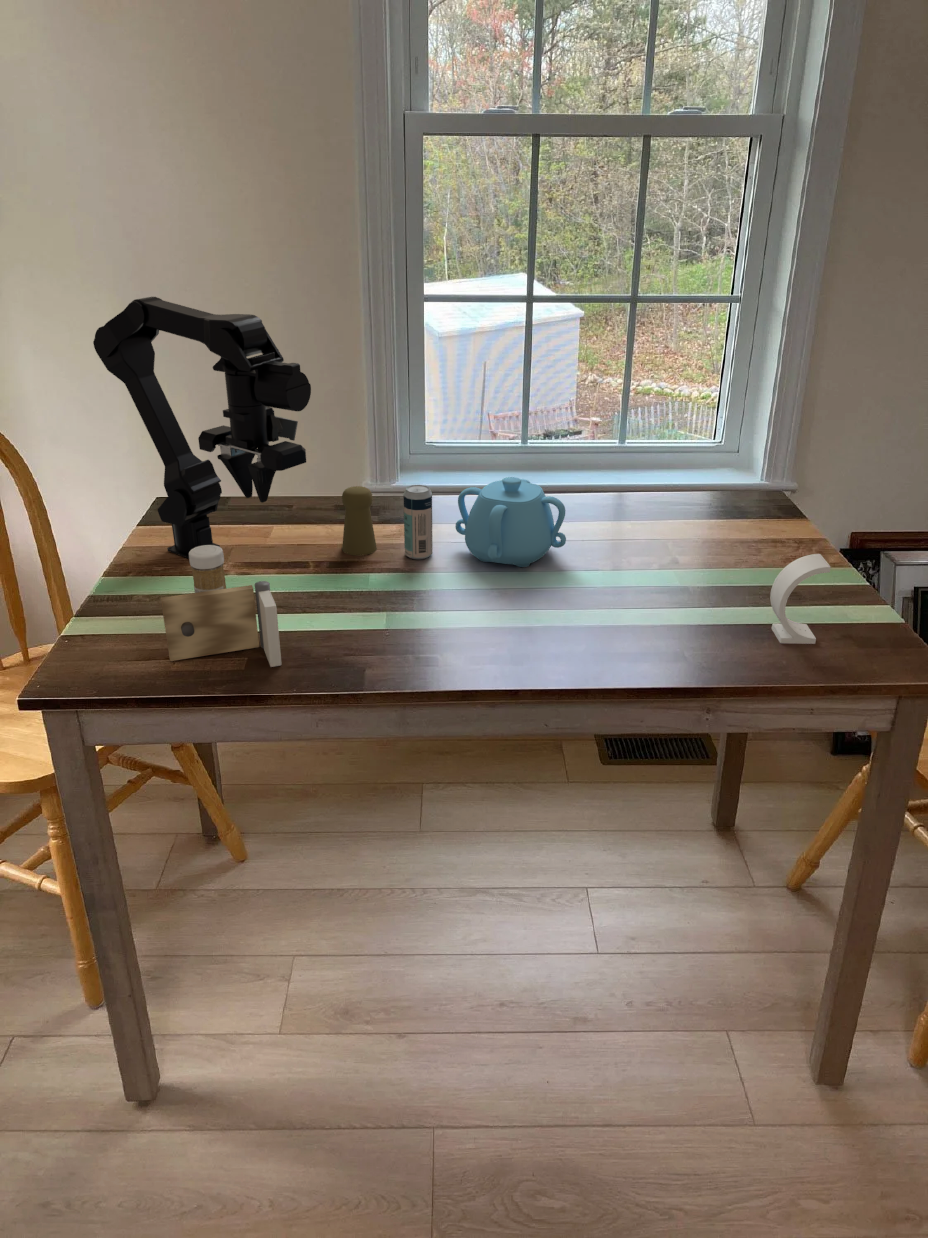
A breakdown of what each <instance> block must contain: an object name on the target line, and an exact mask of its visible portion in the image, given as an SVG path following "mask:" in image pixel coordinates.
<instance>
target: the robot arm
mask: <svg viewBox="0 0 928 1238" xmlns="http://www.w3.org/2000/svg"><path fill="white" fill-rule="evenodd" d="M160 331H161V332H165V333H168V334H172V335H176V336H179V337H182V338H184V339H190V340H192V341H197V342H200V343H202V344H203V345H204V346H206V347H207V348H206V349H208V350H209V351H210V352H211V353H213V354H214V355H216V356H218V357H220V358H219V360H218V361H217V362H216V363H215V364H214V365H213V366H212V369H213V371H214V372H222V373H224V379H225V389H226V397H227V407H228V408H226V409H223V410H222V415H223V417H224V418H227V419H229V426H227V425H221V426H220V425H219V426H217V427H212V428H209V429H206V430H202V431H201V432H200V435H199V436H198V438H197V439H198V447H199V450H201V451H204V452H208V453H212V452H214V451H215V450H216V448H217V445H218V447H219V448H220V454H218V455H216V457H217V459H218V460H220V461H221V462H222V464H223V465H224V467H225V468H226V469H227V471H228V472H229V473H230V475H231V477H232V479H234V481H235V482H236V484H237V486H238V487H239V489H240V490H241V492H242V493H243V496H244V497H245V498H246V499H249V498H252V497H253V491H254V490H253V488H254V489H255V493H256V494H257V498H258V500H259V502H260V503H267V501H268V498H269V494H270V490H271V487H272V484H273V482H274V481H273V480H274V477H275V474H276V472H279V471H280V472H281V471H285V470H288V469H290V468H291V469H292V468H294V467H296V466H300V465H303V464H306V463H307V452H306V451H307V450H306V448H305V447H303V445H301V444H298V443H295V442H291V441H295V438H296V433H297V429H298V424H299V423H298V422H299V421H298V420H294V419H291V418H290V419H289V418H286V417H282V416H277V415H275V410H274V409H279V410H285V411H291V412H302V411H303V410H305V409H306V407H307V406H308V404H309V402H310V400H311V393H312V386H311V383H310V381H309V379H308V377H307V375H306V373H304V372H302V371H301V365H300V363H298V362H289V363H288V362H284V361H285V360H284V357H283V355H282V353H281V352H280V350H279V349H278V347H277V346H276V344H275V342H274V341H273V339H272V338H271V336H270V334H269V333H268V331H267V329H266V327H265V325H264V323H263V320H262V319H261V318H260V317H259V316H257V315H254V314H251V313H250V314H246V313H245V314H244V313H232V314H231V313H229V314H228V313H227V314H214V313H211V312H207V311H204V310H200V309H195V308H192V307H188V306H186V305H181V304H178V303H175V302H170V301H168V300H167V301H166V300H163V299H162V298H161V297H158V296H148V297H142V298H137V299H133V300H132V301H131V302H129V303H128V305H127V306H126V307H125V308H124V309H123V310H122V311H121V312H119V313H118V314H117V315H115V316H114V317H113V318H111V319H110V320H108V321H107V322H106V323H105V324H104V325H102V326H100V327H98V328H97V329H96V332H95V333H94V339H93V342H92V343H93V348H94V351H95V352H96V354H97V356H98V358H99V359H100V361H101V362H102V364H103V365H104V367H105V369H106V370H107V371H108V372H109V373H111V374H112V375H113V376H114V377H116V378H117V379H118V380H119V381H120V382H122V383H123V384H124V386H125V387H126V389H127V391H128V394H129V396H130V397H131V399H132V401H133V403H134V406H135V407H136V410H137V411H138V414H139V416H140V418H141V420H142V423H143V424H144V426H145V428H146V431H147V432H148V434H149V436H150V438H151V440H152V443H153V444H154V446H155V449H156V451H157V452H158V455H159V457H160V460H161V461H162V463H163V465H164V473H163V474H164V475H163V477H164V478H163V486H164V490H165V493H166V495H167V497H166V498H165V499H164V500H163V502H162V503H161V505H159V507H158V508H157V513H158V516H159V517H160V520H161V522H162V523H166V524H169V525H170V524H171V530H172V536H173V543H174V545H171V546H169V547H167V552H170V553H172V554H175V555H177V556H180V557H183V558H186V559H187V560H188V559H189V552H190V550H192V549H193V548H195V547H198V546H203V545H215V546H219V547H220V548H221V546H220V544H217V543H215V542H213V533H212V527H211V524H210V516H208V515H210V514H211V513H215V512H217V511H218V505H219V502H220V499H221V495H222V494H223V493H222V492H223V491H222V486H221V484H220V483H221V482H222V479H220V478H219V476H218V475H217V473H216V471H215V468H214V465H213V462H212V461H211V460H210V459H205V460H201V459H200V458H199V457H198V456H196V455H195V454H194V453H193V451H192V449H191V447H190V445H189V443H188V441H187V439H186V436H185V434H184V432H183V430H182V428H181V426H180V423H179V421H178V420H177V417H176V416H175V413H174V412H173V410H172V407H171V404H170V403H169V401H168V399H167V397H166V394H165V393H164V390H163V388H162V386H161V384H160V382H159V380H158V378H157V376H156V374H155V360H156V353H155V349H154V345H153V344H152V342H153V341H154V340H155V339H156V338H157V336H158V335H159V334H160ZM251 356H252V357H251ZM279 438H285V439H289V440H290V441H287V440H284V441H281V442H278V443H275V442H277V441H279V440H280V439H279ZM271 442H272V443H273V442H274V443H275V444H270V443H271ZM256 455H257V458H256V461H255V462H253V460H254V458H255V456H256ZM253 486H254V487H253Z"/></svg>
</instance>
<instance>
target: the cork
mask: <svg viewBox="0 0 928 1238" xmlns="http://www.w3.org/2000/svg"><path fill="white" fill-rule="evenodd" d="M341 501H342V504H343V506H344V507H345V511H344V513H345V514H344V521H343V522H344V526H343V536H342V547H341V550H342V552H343V553H344V554H346V555H350V556H367V555H370V554H373V553H375V552H376V551H377V550H378V548H377V543H376V542H377V541H376V537H375V536H376V535H375V531H374V526H373V519H372V513H371V506H372V505H373V493H372V491H371V490H370V489H369V488H367V487H366V486H360V485H359V486H358V485H356V486H354V485H353V486H351V487H347V488H346V489H344V490H343V492H342V494H341Z"/></svg>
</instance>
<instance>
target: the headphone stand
mask: <svg viewBox="0 0 928 1238" xmlns="http://www.w3.org/2000/svg"><path fill="white" fill-rule="evenodd" d="M831 568H832V567H831V565H830V564H829V563H828V562H827V560H826V559H825V558H824V557H823V555H822V554H821V553H813V554H808V555H804V556H802V557H799V558H797V559H794V560H793V561H792V562H790V563H788V564H787V565H786V566H785V567H784V568H783V569H781V571H780V572H779V573H778V574H777V576H776V577H775V579H774V581H773V583H772V586H771V590H770V594H769V597H770V604H771V605H770V606H771V608H772V611H773V613H774V614H775V617H776V618H777V619H778V621H779V622H780V623H772V625H771V630H772V633H774V635H775V637H776V639H777V640H778V642H779V644H798V645H799V644H802V645H804V644H805V645H807V644H808V645H809V644H810V645H812V644H813V645H816V641H817V638H816V636H815V635H814V633H813V632H812V630H811V629H810V627H809V626H808V624H807V623H801V622H800V623H799V622H796V621H793V620H791V619H789V618H788V617H787V615H786V606H787V602H788V599H789V597H790V596H791V593H792V592H793V591H794V590H795V588H797V586H798V585H799V584H801V583H802V582H803V581H805V580H806V579H808V578H811V577H812V576H813V577H814V576H815V575H820V574H824V573H825V574H827V573H830V572H831Z"/></svg>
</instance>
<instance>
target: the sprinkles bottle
mask: <svg viewBox="0 0 928 1238" xmlns="http://www.w3.org/2000/svg"><path fill="white" fill-rule="evenodd" d="M188 561H189V565H190V568H191V571H192V572H191V573H192V577H193V588H194V593H198V592H206V591H213V590H220V589H227V584H226V575H225V569H224V564H225V556H224V550H223V548H222V547H221V546H220V547H219V546H215V545H203V546H198V547H195V548H193V549H192V550H190V552H189V560H188Z"/></svg>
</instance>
